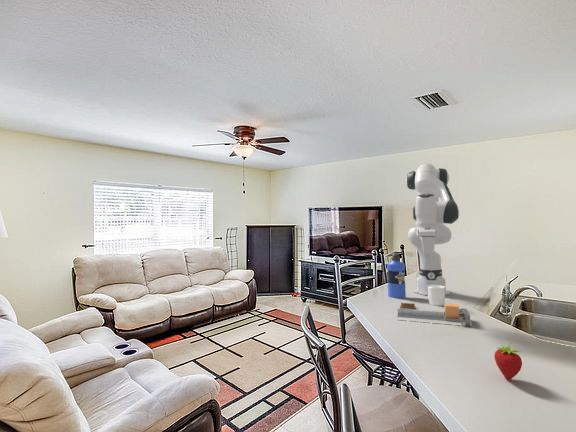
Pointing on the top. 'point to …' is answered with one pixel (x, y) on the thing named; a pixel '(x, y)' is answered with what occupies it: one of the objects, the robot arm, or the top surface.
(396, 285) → the water bottle
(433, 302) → the white cup
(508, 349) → the strawberry
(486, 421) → the top surface
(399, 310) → the rail
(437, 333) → the top surface
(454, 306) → the orange notched block
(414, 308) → the pad
